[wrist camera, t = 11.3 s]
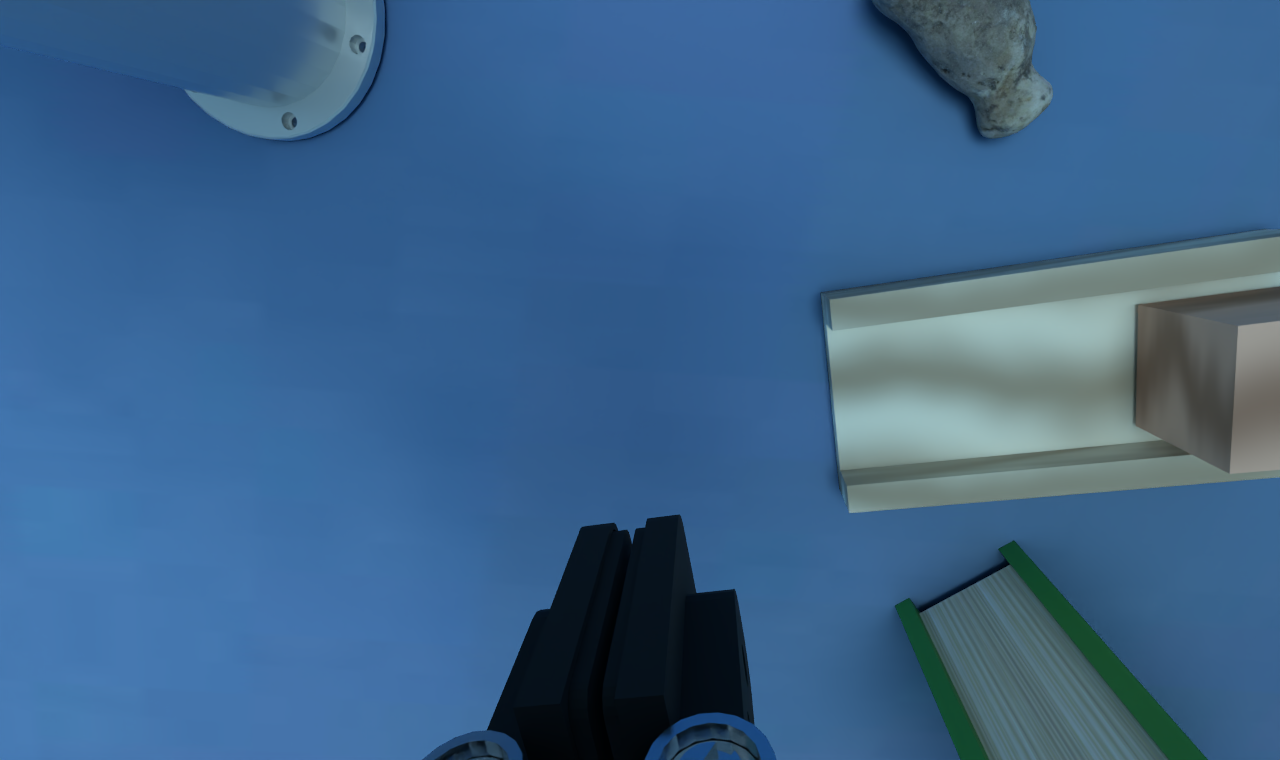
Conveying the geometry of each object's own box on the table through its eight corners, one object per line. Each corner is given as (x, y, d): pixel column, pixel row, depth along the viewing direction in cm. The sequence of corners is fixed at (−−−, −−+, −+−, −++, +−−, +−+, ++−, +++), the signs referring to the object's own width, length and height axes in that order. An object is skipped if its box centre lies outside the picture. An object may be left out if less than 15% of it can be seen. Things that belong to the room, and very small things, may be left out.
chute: (820, 292, 32) (829, 299, 29) (1265, 229, 29) (1324, 230, 26) (839, 488, 35) (849, 513, 32) (1250, 451, 31) (1303, 475, 29)
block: (1137, 304, 29) (1238, 325, 24) (1286, 285, 28) (1429, 303, 22) (1135, 425, 31) (1229, 474, 25) (1277, 411, 30) (1408, 458, 24)
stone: (1033, 124, 30) (1175, -63, 23) (995, 176, 27) (1143, -18, 21) (855, 31, 32) (938, -162, 26) (804, 71, 30) (882, -134, 23)
